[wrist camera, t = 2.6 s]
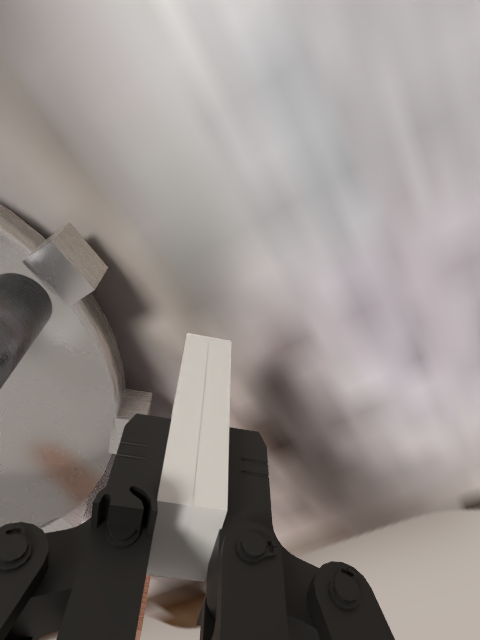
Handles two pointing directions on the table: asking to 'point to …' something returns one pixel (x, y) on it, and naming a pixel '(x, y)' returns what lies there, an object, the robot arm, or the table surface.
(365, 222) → the table surface
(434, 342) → the table surface
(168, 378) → the table surface
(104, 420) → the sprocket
